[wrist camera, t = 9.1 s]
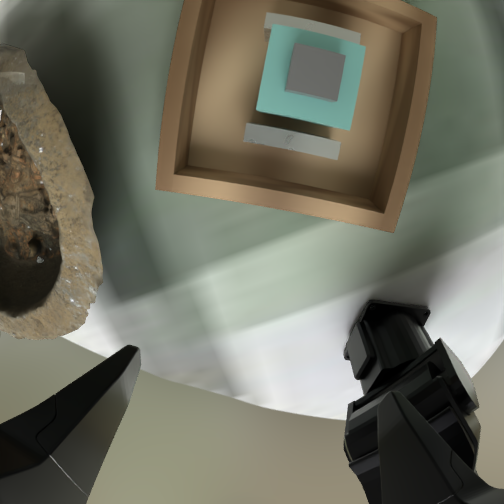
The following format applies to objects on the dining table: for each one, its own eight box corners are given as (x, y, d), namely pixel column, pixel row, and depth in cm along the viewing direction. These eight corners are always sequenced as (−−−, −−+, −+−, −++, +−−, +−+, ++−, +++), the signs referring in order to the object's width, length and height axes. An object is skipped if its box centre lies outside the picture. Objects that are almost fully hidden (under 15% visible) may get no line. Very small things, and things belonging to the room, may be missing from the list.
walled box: (412, 29, 13) (436, 17, 10) (375, 214, 19) (393, 233, 16) (206, -16, 13) (194, -38, 10) (173, 176, 19) (155, 189, 16)
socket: (347, 45, 14) (361, 33, 12) (326, 153, 17) (337, 160, 15) (267, 27, 14) (266, 12, 11) (247, 137, 17) (243, 141, 15)
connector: (336, 66, 15) (373, 41, 9) (324, 125, 17) (356, 131, 10) (271, 52, 15) (272, 16, 9) (260, 112, 17) (254, 108, 10)
